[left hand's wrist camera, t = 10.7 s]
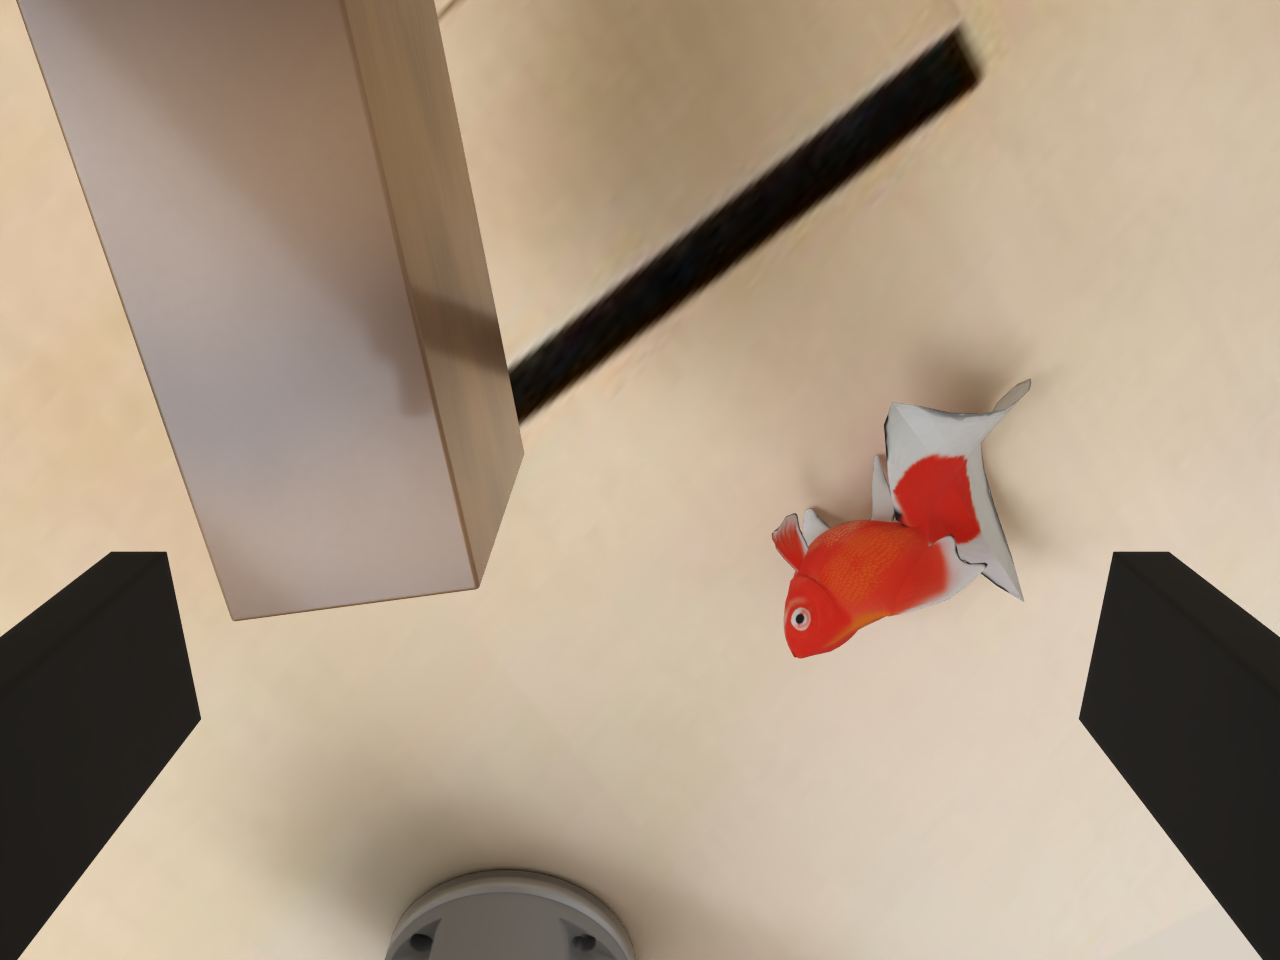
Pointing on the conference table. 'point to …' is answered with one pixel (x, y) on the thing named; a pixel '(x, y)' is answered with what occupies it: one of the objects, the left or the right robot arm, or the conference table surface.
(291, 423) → the box
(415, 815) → the conference table surface
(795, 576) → the fish
